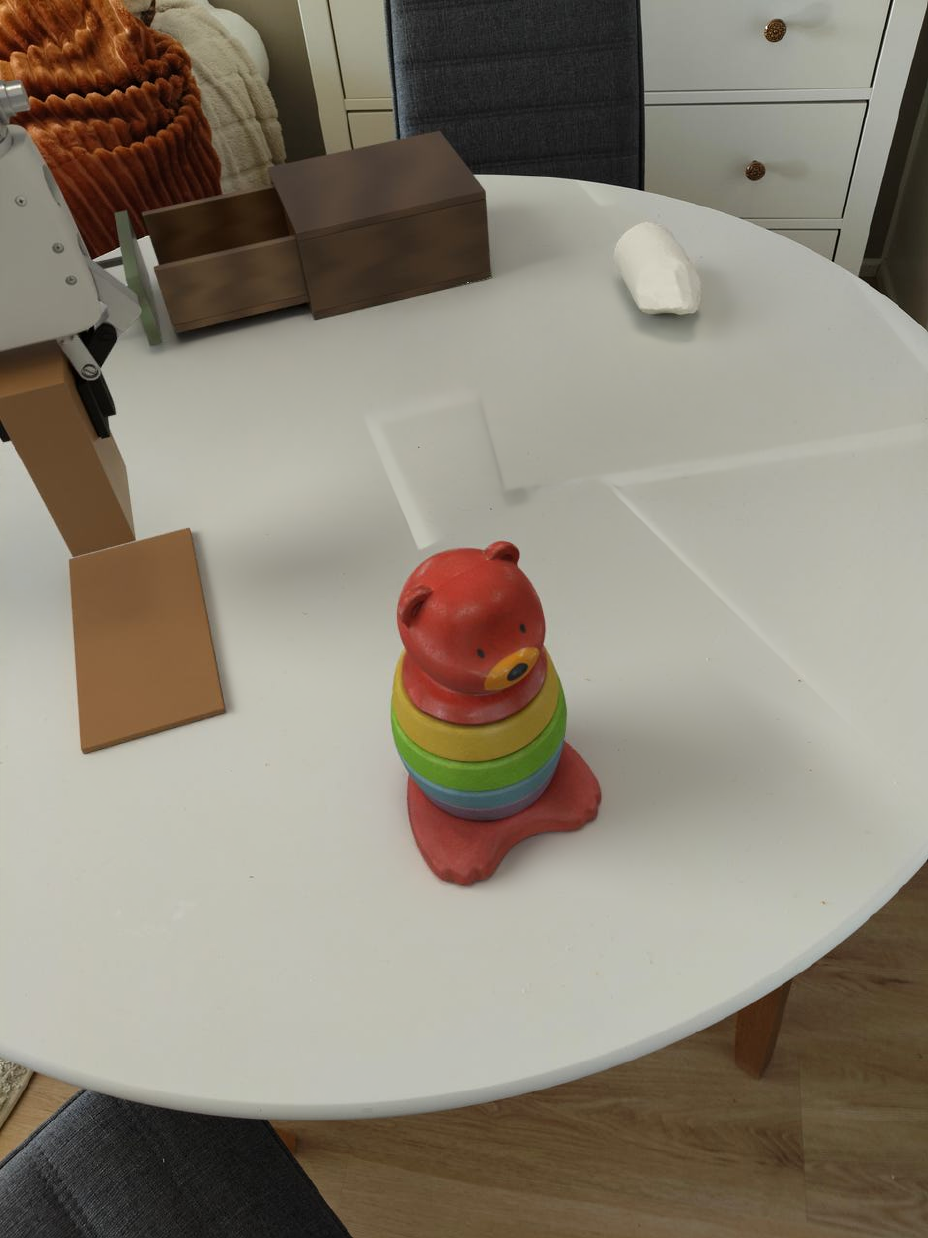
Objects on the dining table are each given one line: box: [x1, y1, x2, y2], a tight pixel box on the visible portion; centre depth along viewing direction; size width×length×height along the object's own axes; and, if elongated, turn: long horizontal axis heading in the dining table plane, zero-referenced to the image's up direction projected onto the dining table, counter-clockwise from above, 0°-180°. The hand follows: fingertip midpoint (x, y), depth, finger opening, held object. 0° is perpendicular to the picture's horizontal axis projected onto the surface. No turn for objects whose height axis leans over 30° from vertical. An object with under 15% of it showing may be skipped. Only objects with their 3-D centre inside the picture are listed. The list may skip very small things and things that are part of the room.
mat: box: [68, 527, 227, 755], centre depth 68 cm, size 18×9×1 cm, turn 18°
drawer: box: [94, 183, 310, 347], centre depth 93 cm, size 22×13×7 cm, turn 108°
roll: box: [613, 221, 703, 316], centre depth 88 cm, size 6×12×6 cm, turn 9°
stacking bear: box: [390, 540, 603, 886], centre depth 51 cm, size 11×10×18 cm
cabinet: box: [267, 130, 492, 321], centre depth 96 cm, size 18×15×9 cm
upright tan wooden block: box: [0, 339, 137, 558], centre depth 61 cm, size 8×4×12 cm, turn 18°
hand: (64, 432), depth 61 cm, fingers closed on upright tan wooden block, 4 cm apart
